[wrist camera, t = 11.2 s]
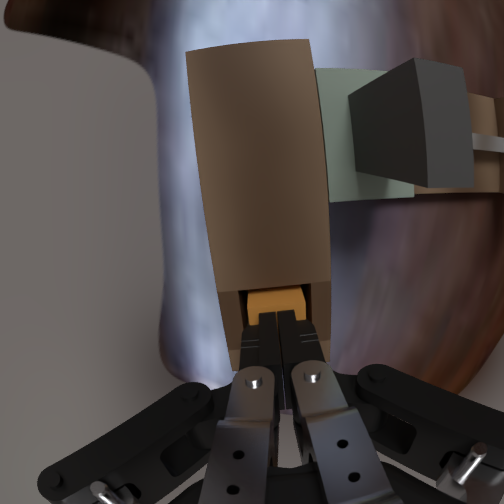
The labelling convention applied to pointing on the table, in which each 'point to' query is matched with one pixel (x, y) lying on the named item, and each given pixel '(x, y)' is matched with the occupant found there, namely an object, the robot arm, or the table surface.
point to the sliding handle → (395, 130)
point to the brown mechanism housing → (282, 174)
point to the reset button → (275, 302)
